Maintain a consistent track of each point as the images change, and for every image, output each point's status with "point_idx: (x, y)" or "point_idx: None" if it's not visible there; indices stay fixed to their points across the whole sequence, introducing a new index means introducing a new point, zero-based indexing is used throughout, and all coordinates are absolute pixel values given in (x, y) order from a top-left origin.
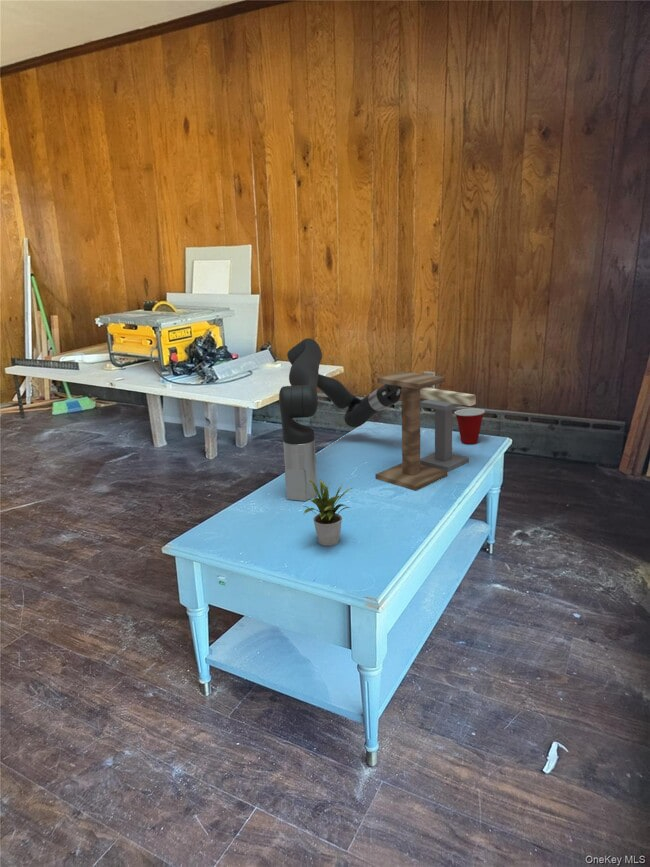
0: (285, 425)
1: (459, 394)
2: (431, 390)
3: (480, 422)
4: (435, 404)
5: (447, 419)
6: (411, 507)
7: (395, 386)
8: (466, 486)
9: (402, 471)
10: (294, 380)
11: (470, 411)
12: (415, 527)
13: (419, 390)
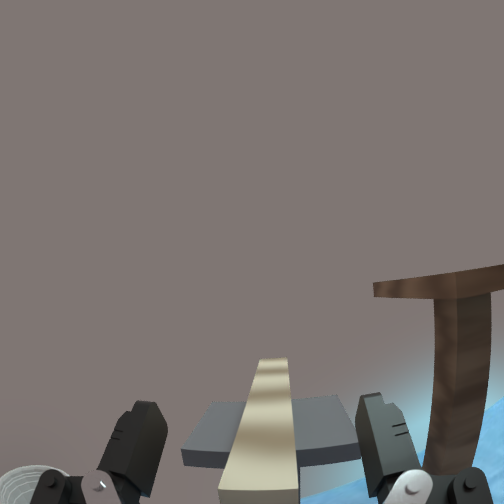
0: None
1: (282, 367)
2: (287, 406)
3: None
4: (343, 410)
5: None
6: (483, 449)
7: (433, 480)
8: (361, 479)
9: None
10: None
11: (4, 491)
12: (494, 418)
13: (437, 319)
